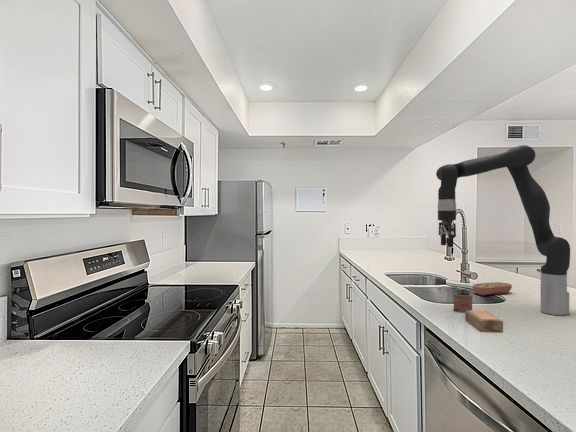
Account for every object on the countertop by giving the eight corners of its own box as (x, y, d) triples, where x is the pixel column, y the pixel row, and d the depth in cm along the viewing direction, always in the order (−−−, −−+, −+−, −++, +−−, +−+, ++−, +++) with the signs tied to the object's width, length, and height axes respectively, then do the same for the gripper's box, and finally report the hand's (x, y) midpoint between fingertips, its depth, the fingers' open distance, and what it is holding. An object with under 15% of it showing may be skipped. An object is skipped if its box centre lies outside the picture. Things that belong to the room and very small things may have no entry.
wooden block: (485, 320, 145) (485, 309, 145) (503, 332, 131) (503, 320, 131) (465, 319, 146) (465, 309, 146) (480, 331, 132) (480, 320, 132)
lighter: (470, 310, 160) (470, 288, 160) (473, 312, 157) (473, 289, 156) (452, 310, 161) (452, 288, 161) (454, 312, 157) (454, 289, 157)
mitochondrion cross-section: (482, 298, 182) (482, 288, 182) (467, 293, 192) (467, 284, 192) (516, 294, 190) (516, 285, 190) (499, 290, 199) (499, 281, 199)
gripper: (462, 209, 151) (462, 247, 151) (449, 209, 165) (449, 244, 166) (443, 209, 152) (443, 247, 152) (433, 209, 166) (433, 244, 166)
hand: (446, 246), depth 159 cm, fingers open, 8 cm apart
